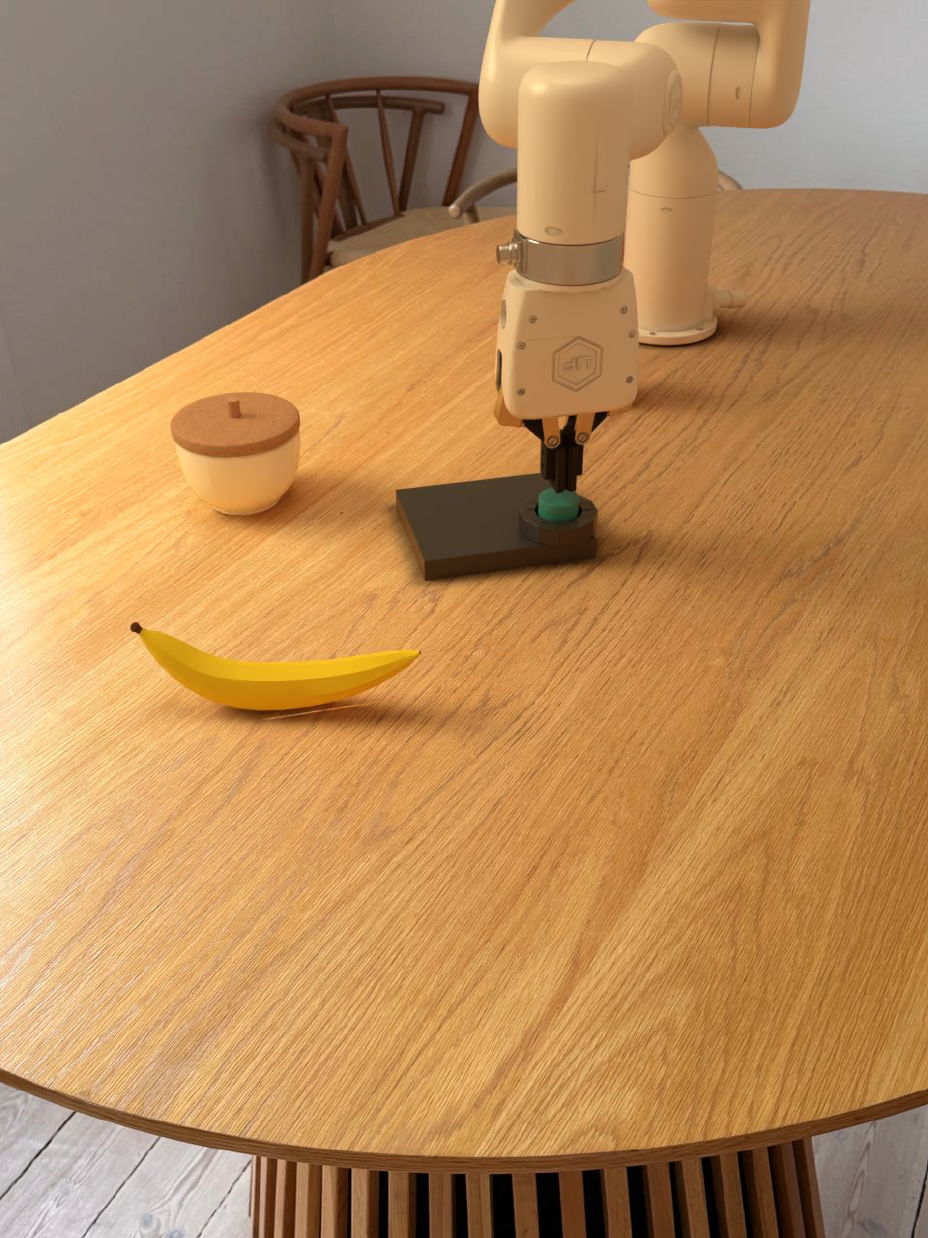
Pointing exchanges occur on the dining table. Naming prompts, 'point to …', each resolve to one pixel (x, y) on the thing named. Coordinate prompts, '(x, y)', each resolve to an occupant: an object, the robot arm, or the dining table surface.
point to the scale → (491, 527)
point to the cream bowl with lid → (238, 449)
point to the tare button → (558, 505)
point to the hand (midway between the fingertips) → (560, 483)
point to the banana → (271, 674)
